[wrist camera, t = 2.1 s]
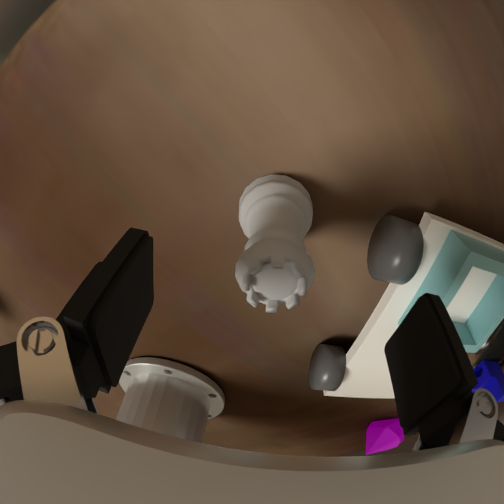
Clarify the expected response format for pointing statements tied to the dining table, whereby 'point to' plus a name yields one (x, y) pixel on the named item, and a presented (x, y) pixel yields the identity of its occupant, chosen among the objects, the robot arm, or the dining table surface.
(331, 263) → the dining table surface
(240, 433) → the dining table surface
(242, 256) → the rook chess piece
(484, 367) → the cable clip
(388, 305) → the chassis
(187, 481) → the robot arm
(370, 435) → the crystal
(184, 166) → the dining table surface
